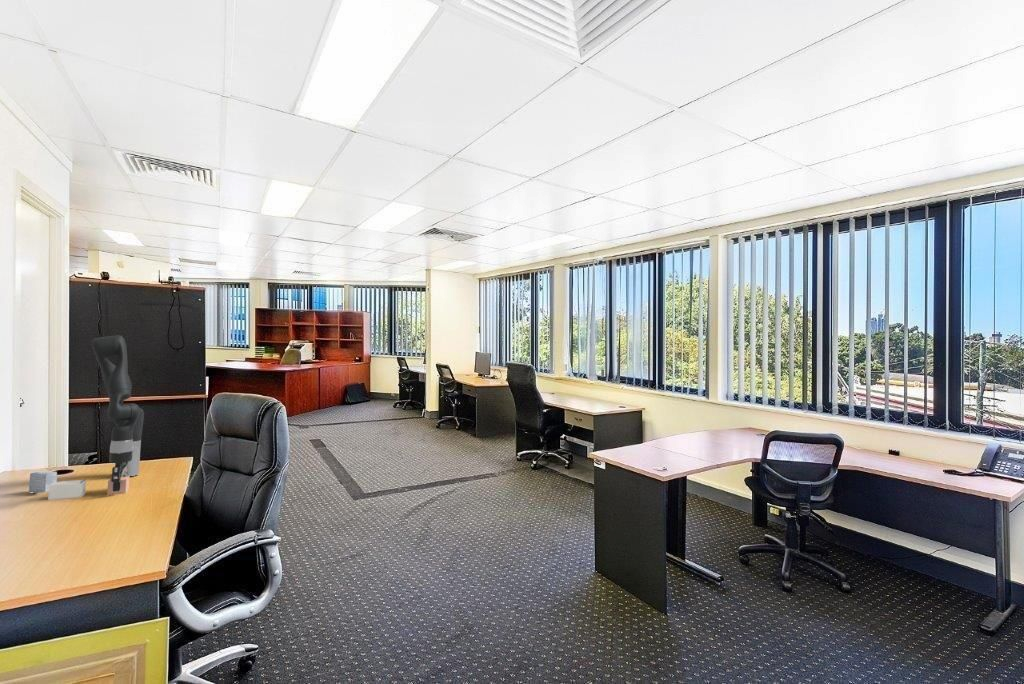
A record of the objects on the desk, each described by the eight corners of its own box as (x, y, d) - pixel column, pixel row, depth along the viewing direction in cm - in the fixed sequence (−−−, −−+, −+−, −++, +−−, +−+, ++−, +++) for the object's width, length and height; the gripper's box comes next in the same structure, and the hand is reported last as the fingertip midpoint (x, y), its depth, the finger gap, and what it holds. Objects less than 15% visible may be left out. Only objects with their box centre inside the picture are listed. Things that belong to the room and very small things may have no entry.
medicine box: (56, 491, 197) (57, 471, 197) (44, 494, 192) (46, 474, 192) (40, 490, 197) (41, 470, 198) (28, 493, 193) (29, 473, 193)
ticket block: (53, 496, 187) (54, 481, 187) (85, 494, 192) (86, 479, 192) (48, 500, 183) (49, 484, 183) (81, 497, 187) (82, 482, 188)
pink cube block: (110, 491, 196) (111, 477, 196) (128, 489, 199) (129, 476, 199) (107, 494, 191) (108, 480, 192) (125, 493, 194) (126, 479, 195)
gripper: (114, 447, 200) (112, 484, 200) (105, 454, 188) (102, 494, 187) (136, 446, 204) (134, 483, 203) (128, 453, 191) (125, 492, 191)
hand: (119, 488), depth 195 cm, fingers open, 8 cm apart
